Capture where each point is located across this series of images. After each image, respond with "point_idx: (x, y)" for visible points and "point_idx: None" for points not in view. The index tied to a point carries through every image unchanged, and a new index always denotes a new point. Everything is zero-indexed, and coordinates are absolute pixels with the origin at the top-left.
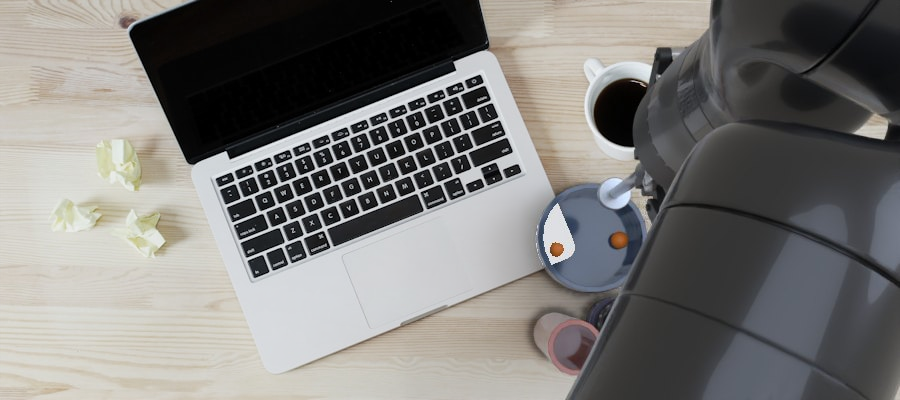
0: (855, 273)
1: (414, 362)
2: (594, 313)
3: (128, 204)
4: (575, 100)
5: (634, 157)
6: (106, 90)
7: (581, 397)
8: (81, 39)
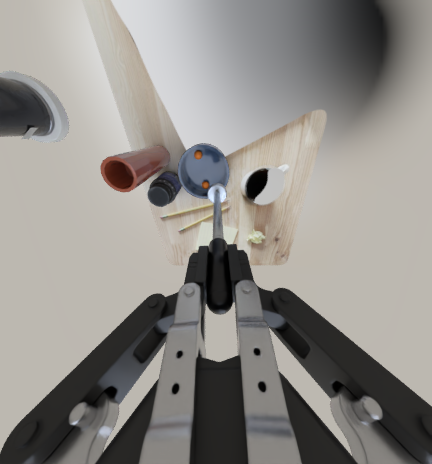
0: None
1: (121, 65)
2: (168, 176)
3: None
4: (270, 161)
5: (228, 246)
6: None
7: None
8: None
